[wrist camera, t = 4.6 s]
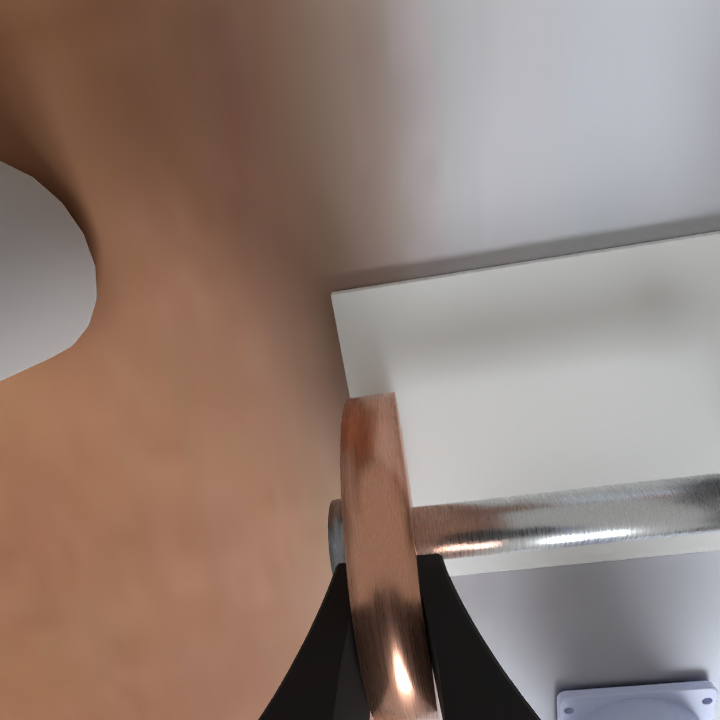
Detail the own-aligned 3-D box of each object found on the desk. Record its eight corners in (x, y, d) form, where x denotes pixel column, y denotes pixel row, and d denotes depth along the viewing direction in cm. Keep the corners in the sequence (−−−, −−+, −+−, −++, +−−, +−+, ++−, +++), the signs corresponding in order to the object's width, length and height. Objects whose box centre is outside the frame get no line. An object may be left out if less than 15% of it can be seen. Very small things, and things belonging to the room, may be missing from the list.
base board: (972, 514, 19) (990, 523, 18) (384, 572, 21) (384, 582, 21) (1096, 171, 14) (1125, 169, 14) (332, 292, 17) (330, 295, 16)
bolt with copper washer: (726, 510, 18) (1034, 777, 10) (363, 548, 19) (353, 812, 11) (754, 301, 15) (1232, 419, 7) (325, 363, 17) (272, 526, 8)
